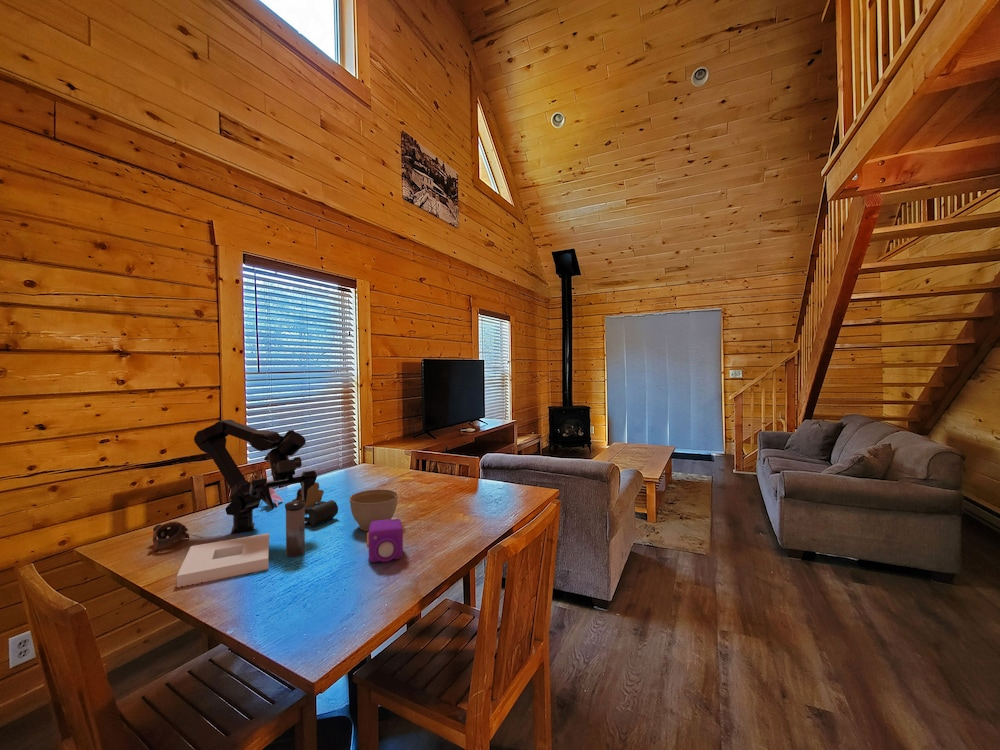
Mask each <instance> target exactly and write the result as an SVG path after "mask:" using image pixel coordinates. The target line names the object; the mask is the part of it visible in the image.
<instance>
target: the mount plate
mask: <svg viewBox="0 0 1000 750" xmlns="http://www.w3.org/2000/svg"><path fill="white" fill-rule="evenodd" d="M269 558H270V533H269V532H268V533H267V532H266V533H261V534H256V535H249V536H243V537H237V538H233V539H226V540H219V541H215V542H214V541H213V542H209V543H202V544H196V545H191V546H190V547H189V550H188V551H187V554H186V556H185V558H184V559H183V562H182V564H181V566H180V569H179V571H178V572H177V574H176V588H177V587H178V588H182V587H181V586H183V587H187V585H188V586H192V584H193V585H196V584H197V585H198V584H202V583H201V582H203V583H206V582H211V581H216V580H221V579H226V578H231V577H235V576H241V575H246V574H249V573H251V574H252V573H254V572H255V573H256V572H259V571H260V572H261V571H265V570H269V564H270V563H269V561H270V559H269Z"/></svg>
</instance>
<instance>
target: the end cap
mask: <svg viewBox="0 0 1000 750" xmlns="http://www.w3.org/2000/svg"><path fill="white" fill-rule="evenodd" d="M338 513H339V506H338V503H337V502H336V501H335V500H334V499H330V500H328V501H325V500H324V501H323V500H321V501H320V502H316V504H315V505H314V506H307V507H305V515H308V516H305V527H309V526H311V527H310V528H314V527H315V526H318V525H320V524H322V523H325V522H327V521H329V520H331V519H333V518H334V517H336V516H337V515H338Z"/></svg>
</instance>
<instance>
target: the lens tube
mask: <svg viewBox="0 0 1000 750" xmlns="http://www.w3.org/2000/svg"><path fill="white" fill-rule="evenodd" d="M284 509H285V554H286V555H285V556H286V557H287V558H297V557H300V556H302V555H304V554H305V553H306V540H305V539H306V537H305V536H306V533H305V531H306V530H305V527H306V526H305V523H306V522H305V517H306V516H305V515H306V514H305V501H292V500H291V501H289V502H286V503H285V504H284Z"/></svg>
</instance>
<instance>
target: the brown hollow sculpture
mask: <svg viewBox="0 0 1000 750" xmlns="http://www.w3.org/2000/svg"><path fill="white" fill-rule="evenodd" d="M188 532H189V528H187V526H186V525H184V524H183V523H181V522H179V521H168V522H165V523H163V524H161V523H160V524H159V523H158V524H156V526H154V527H153V533H152V542H153V544H152V549H153V550H154V551H155V550H158V551H159V550H161V549H164V548H168V547H170V546H173V545H174V544H176V543H178V542H179V541H181V540H183V539H185V538H189V539H190V534H189V533H188Z"/></svg>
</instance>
